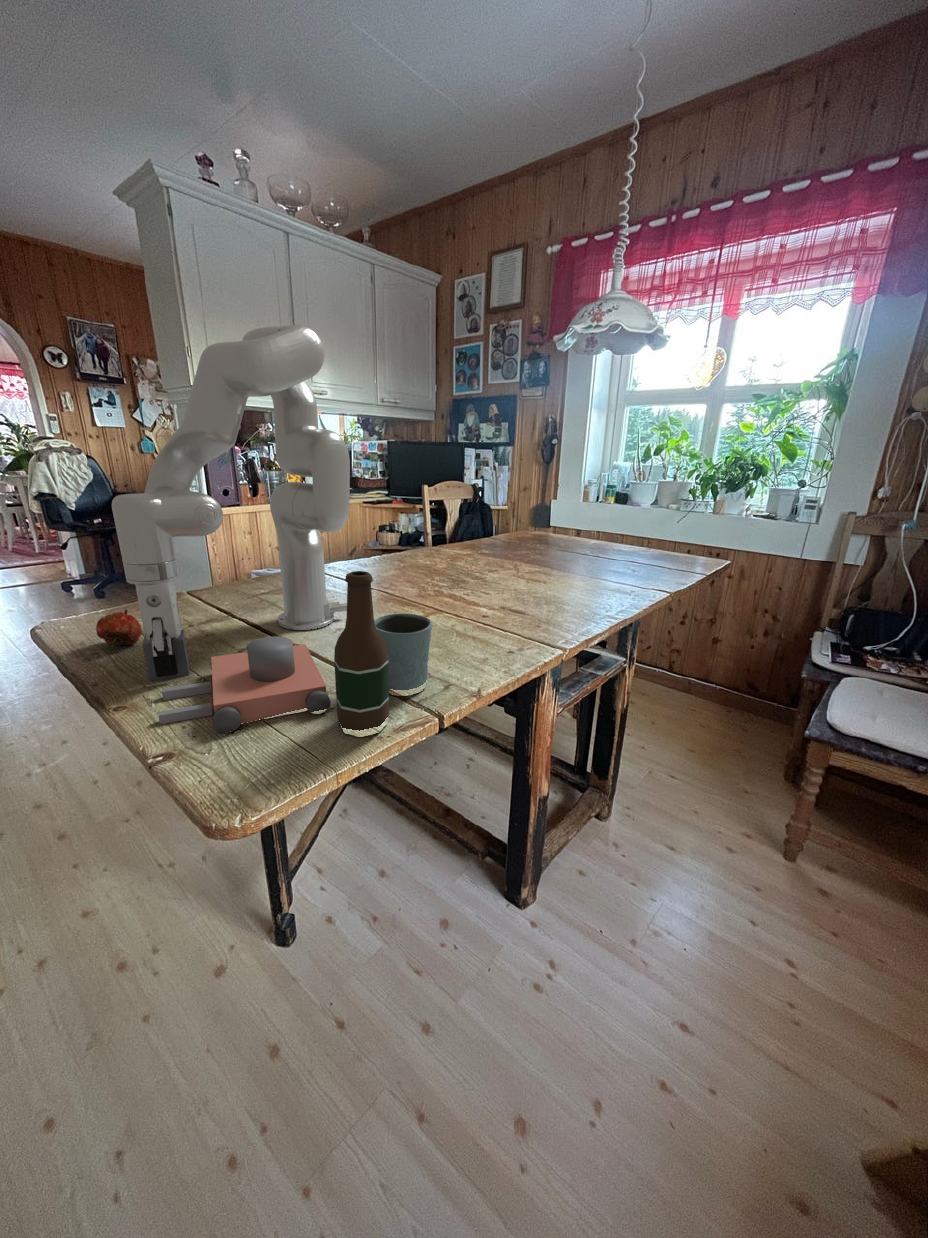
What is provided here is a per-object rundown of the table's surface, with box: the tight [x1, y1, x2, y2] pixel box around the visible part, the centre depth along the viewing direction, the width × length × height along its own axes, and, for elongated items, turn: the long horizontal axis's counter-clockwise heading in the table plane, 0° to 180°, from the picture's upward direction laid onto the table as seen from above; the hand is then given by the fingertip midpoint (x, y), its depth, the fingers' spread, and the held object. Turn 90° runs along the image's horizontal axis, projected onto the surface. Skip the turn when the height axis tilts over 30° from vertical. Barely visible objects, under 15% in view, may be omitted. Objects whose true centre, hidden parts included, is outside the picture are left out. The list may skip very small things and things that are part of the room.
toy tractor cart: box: [157, 635, 332, 734], centre depth 79 cm, size 24×21×9 cm
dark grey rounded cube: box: [141, 629, 190, 682], centre depth 86 cm, size 6×5×7 cm
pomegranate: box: [95, 609, 143, 655], centre depth 96 cm, size 7×7×10 cm
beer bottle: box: [333, 570, 390, 731], centre depth 70 cm, size 8×8×24 cm
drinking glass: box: [374, 613, 433, 690], centre depth 85 cm, size 10×10×12 cm
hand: (168, 664), depth 87 cm, fingers open, 8 cm apart
